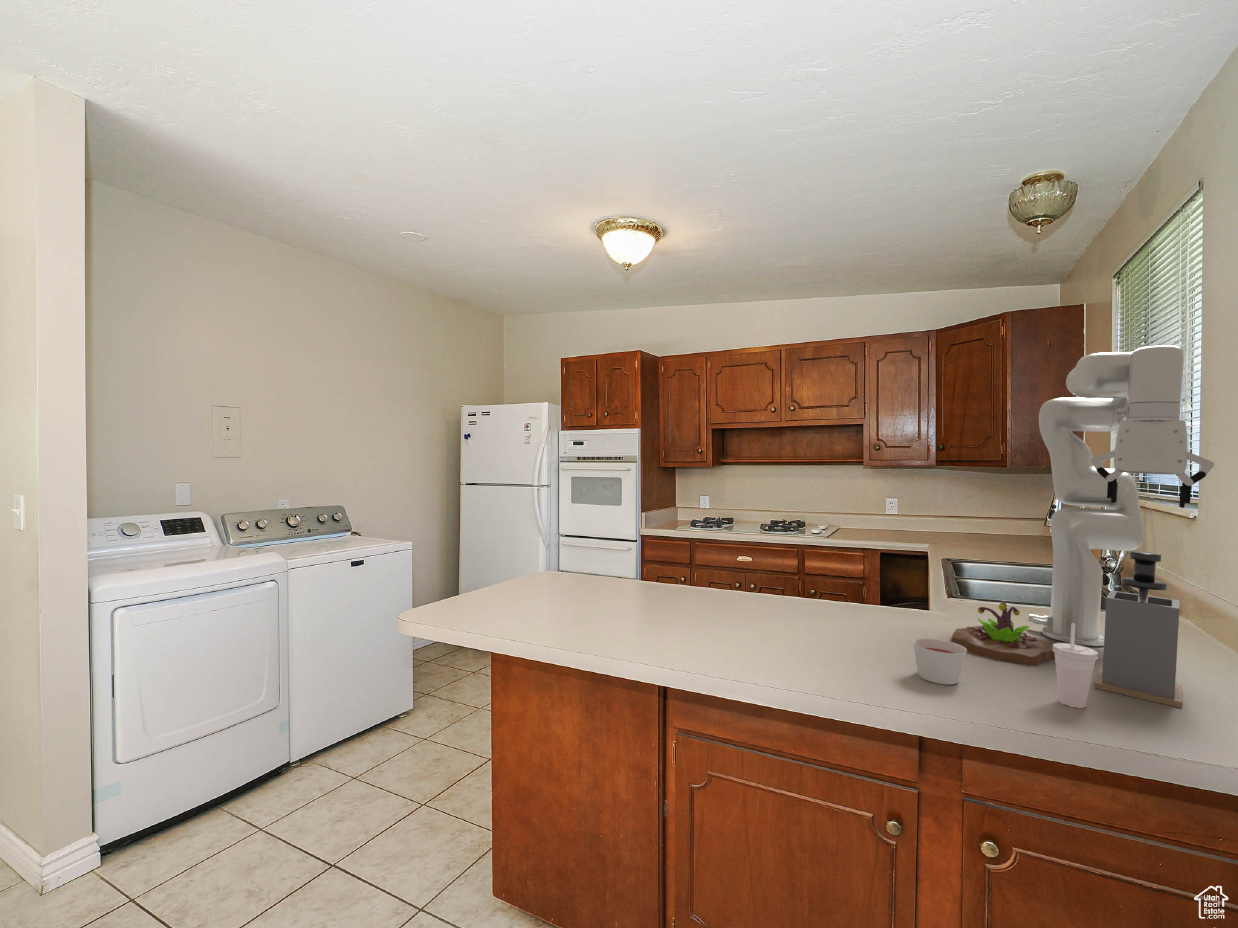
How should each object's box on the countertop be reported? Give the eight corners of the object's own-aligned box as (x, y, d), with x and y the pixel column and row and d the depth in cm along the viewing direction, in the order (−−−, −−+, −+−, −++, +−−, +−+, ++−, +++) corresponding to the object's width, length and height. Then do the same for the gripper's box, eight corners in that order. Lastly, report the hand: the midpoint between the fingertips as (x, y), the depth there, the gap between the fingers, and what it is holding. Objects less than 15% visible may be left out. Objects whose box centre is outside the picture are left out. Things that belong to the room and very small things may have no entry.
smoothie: (1040, 696, 108) (1044, 618, 107) (1073, 696, 108) (1078, 618, 108) (1070, 711, 101) (1074, 628, 101) (1105, 711, 102) (1110, 629, 102)
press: (1094, 687, 113) (1099, 597, 113) (1100, 672, 122) (1104, 588, 121) (1181, 707, 105) (1187, 610, 104) (1181, 689, 114) (1186, 600, 113)
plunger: (1112, 681, 113) (1119, 552, 113) (1115, 672, 118) (1122, 549, 118) (1163, 692, 108) (1170, 557, 108) (1163, 683, 113) (1170, 554, 113)
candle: (903, 668, 119) (905, 637, 119) (949, 671, 119) (951, 639, 119) (925, 686, 110) (927, 652, 110) (975, 688, 110) (977, 654, 110)
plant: (938, 647, 136) (941, 597, 135) (965, 631, 149) (968, 586, 149) (1045, 673, 121) (1048, 618, 121) (1064, 653, 135) (1067, 603, 135)
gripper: (1091, 412, 116) (1086, 501, 116) (1218, 411, 104) (1212, 510, 104) (1095, 415, 121) (1090, 499, 122) (1216, 414, 109) (1210, 508, 110)
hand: (1146, 504), depth 113 cm, fingers open, 9 cm apart
